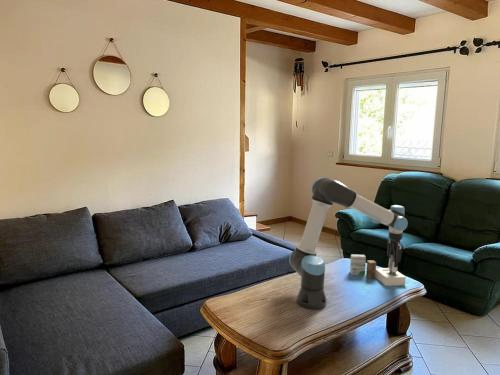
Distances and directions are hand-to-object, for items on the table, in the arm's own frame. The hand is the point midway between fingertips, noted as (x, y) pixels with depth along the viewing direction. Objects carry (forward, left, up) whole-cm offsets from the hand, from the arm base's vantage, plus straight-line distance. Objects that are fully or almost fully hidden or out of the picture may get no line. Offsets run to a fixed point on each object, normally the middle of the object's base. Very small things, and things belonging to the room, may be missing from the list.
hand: (392, 270), depth 214 cm
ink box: (-15, +15, -8) cm, 22 cm away
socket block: (0, +3, -7) cm, 8 cm away
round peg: (0, 0, -3) cm, 3 cm away
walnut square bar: (-9, +9, -8) cm, 15 cm away
